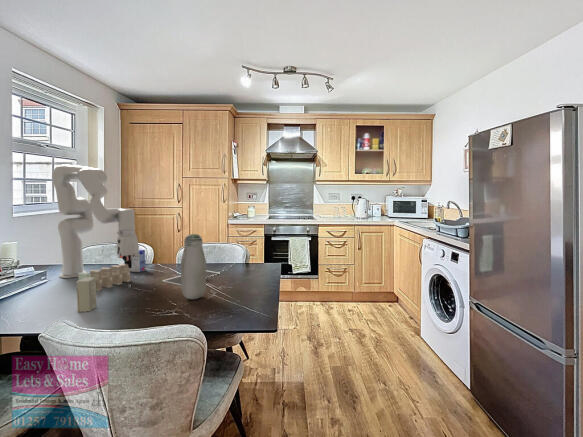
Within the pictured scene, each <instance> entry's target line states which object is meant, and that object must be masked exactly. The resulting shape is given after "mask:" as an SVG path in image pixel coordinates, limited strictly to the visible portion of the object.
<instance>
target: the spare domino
mask: <svg viewBox="0 0 583 437" xmlns="http://www.w3.org/2000/svg"><path fill="white" fill-rule="evenodd" d="M84 277H90V272H87V273H84V272H82V273H78V277H77V278H78V280H80V279H82V278H84Z"/></svg>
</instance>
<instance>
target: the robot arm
mask: <svg viewBox="0 0 583 437" xmlns="http://www.w3.org/2000/svg"><path fill="white" fill-rule="evenodd" d="M51 177H52V178H51V180H52V183H53V185H54V189H55V195H56V200H57V207H58V211H59V213H60V214H61V215H62V216H76V217H69V218H68V217H67V218H63V219H62V220H60V221H59V222H58V225H57V229H58V233H59V237H60V245H61V259H62V260H61V261H62V267H61V268H60V271H62V273H60V274H59V278H61V279H71V278H73V279H74V278H78V273H82V272H84V273H88V272H87V271H86V270H84V256H83V252H84V251H83V242H82V239H81V238H80V236H79V235H85V234H89V233H91V232H92V231H93V229H94V219H93V218H94V217H95V218H96V220H97V221H98V222H99V223H101V224H103V225H105V224H115V223H116V224H118V225H117V226H118V227H117V228H118V231H117V233H116V234H117V235H118V236H117V239H116V254H117V258H118V259H122V260H123V261H124V263H123V264H128V267H129V268H132V262H131V260H132V259H133V257H134V256H135V255H137V253H138V252H139V250H140V249H139V248H140V245H139V240H138V236H137V234H136V226H135V223H136V222H135V210H134V209H132V208H120V207H114V208H113V207H112V208H106V207H105V205H104V204H103V202H102V198H104V197H105V196H107V194H108V188H107V186H105V184H106V183H107V181H108V175H107V172H106V171H104V170H103V169H101V168H94V167H89V166H82V165H72V164H61V165H57V166H56V167H55V168H54V169H53V171H52V173H51ZM71 182H80V183H81V185H82V186H83V187H84V189H85V190H86V192H87V194H88V195H89V196H90V201H88V199H86V198H83V197H77V195H76V191H75V188H74V186H73V185H72V183H71ZM93 215H94V217H93ZM125 256H126V257H125Z"/></svg>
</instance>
